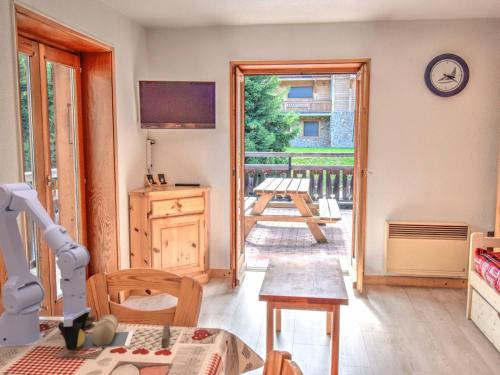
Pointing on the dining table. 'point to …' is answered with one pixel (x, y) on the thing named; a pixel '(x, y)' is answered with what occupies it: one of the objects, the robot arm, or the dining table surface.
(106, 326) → the roller
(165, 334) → the end rail
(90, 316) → the mushroom
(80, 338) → the ball
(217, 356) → the dining table surface
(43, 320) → the dining table surface
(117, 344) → the grey board
